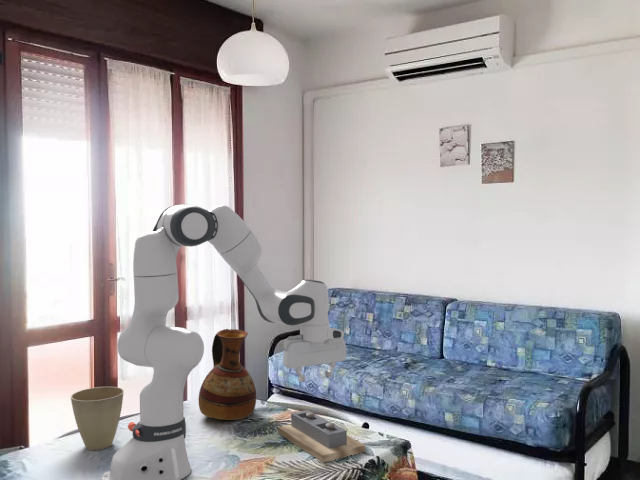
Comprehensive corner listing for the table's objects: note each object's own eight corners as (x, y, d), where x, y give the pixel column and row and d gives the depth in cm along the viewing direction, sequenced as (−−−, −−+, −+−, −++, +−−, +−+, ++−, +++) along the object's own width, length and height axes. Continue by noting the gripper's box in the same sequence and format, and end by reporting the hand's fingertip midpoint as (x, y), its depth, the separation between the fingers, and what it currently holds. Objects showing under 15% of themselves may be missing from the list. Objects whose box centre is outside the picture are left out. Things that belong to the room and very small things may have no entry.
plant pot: (63, 446, 177) (62, 393, 177) (111, 433, 188) (109, 384, 187) (85, 459, 167) (83, 403, 166) (134, 445, 177) (132, 392, 177)
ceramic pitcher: (219, 430, 189) (217, 337, 188) (187, 416, 204) (185, 330, 203) (268, 416, 202) (266, 329, 202) (234, 404, 217) (233, 323, 216)
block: (328, 448, 165) (328, 434, 165) (291, 426, 185) (291, 413, 185) (346, 444, 168) (346, 430, 168) (308, 422, 188) (307, 410, 188)
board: (323, 462, 161) (322, 436, 160) (278, 433, 185) (277, 410, 185) (365, 452, 168) (365, 427, 167) (316, 425, 192) (316, 403, 192)
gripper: (288, 338, 169) (289, 386, 169) (348, 331, 179) (349, 376, 179) (279, 335, 175) (279, 381, 175) (337, 328, 185) (338, 372, 185)
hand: (315, 379), depth 177 cm, fingers open, 8 cm apart
